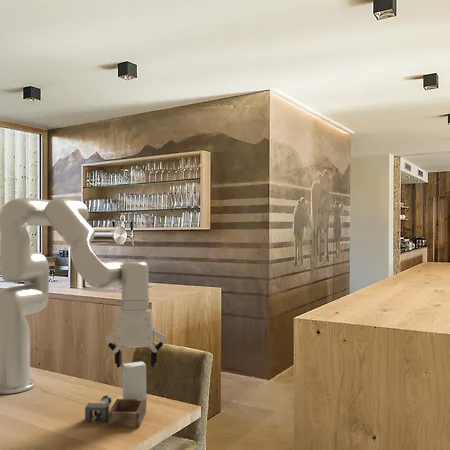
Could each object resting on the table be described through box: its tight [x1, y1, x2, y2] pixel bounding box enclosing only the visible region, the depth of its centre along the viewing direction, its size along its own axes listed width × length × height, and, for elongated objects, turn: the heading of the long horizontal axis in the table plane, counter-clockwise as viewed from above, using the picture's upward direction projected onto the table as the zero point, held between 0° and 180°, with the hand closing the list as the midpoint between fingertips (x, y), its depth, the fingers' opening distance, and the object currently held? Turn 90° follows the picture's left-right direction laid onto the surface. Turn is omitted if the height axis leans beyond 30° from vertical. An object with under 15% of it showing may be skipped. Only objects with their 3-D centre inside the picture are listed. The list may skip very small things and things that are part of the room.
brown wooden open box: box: [107, 398, 147, 428], centre depth 126 cm, size 8×10×4 cm
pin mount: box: [84, 402, 110, 423], centre depth 126 cm, size 5×3×4 cm, turn 90°
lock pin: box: [93, 395, 112, 417], centre depth 131 cm, size 3×9×3 cm, turn 0°
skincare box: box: [121, 361, 147, 407], centre depth 135 cm, size 6×4×12 cm
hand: (136, 365), depth 135 cm, fingers open, 9 cm apart
